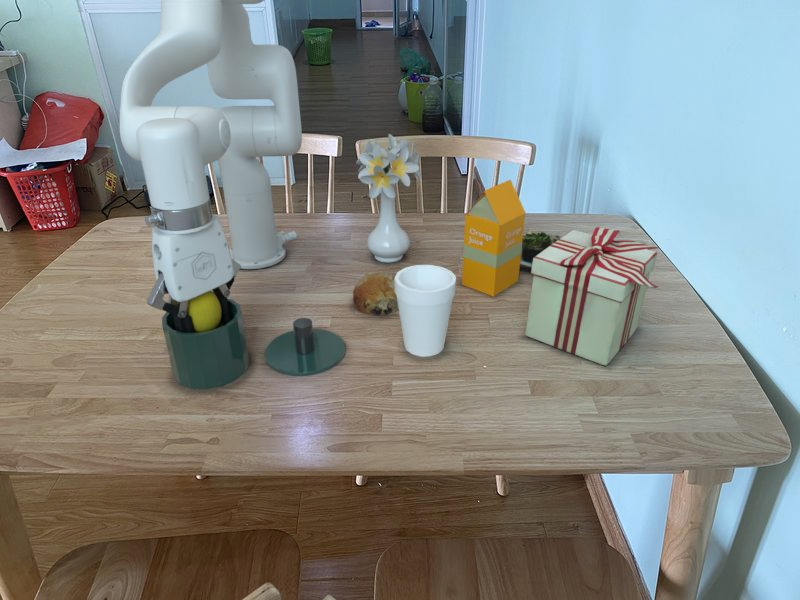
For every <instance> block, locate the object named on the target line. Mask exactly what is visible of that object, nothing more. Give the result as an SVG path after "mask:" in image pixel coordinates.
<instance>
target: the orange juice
mask: <svg viewBox="0 0 800 600" xmlns="http://www.w3.org/2000/svg"><path fill="white" fill-rule="evenodd" d="M464 216H465V217H464V232H463V233H464V235H463V247H462V274H461V276H462V277H461V285H462V286H465V287H467V288H470V289H473V290H475V291H478V292H480V293H483V294H486V295H488V296H490V297H496V296H497V295H499V294H500V293H501V292H504V291H506V289H508V288H510V287H511V286H513V285H514V284H516V283H517V282H519V277H520V258H521V251H522V238H523V236H524V227H525V219H526V218H525V217H526V211H525V209H524V206H523V204H522V201H521V200H520V197H519V195H518V193H517V191H516V189H515V186H514V184H513V182H512V180H511V179H509V180H506V181H504V182H501V183H499V184H496V185H494V186H492V187H489V188H487V189H485V190H483V192H482V194H481V195H480V197H479V198H478V199H477V201H476V202H475V203H474V204H473V205H472V207H471V208H470V209H469V211H468V212H467V213H466V214H465V215H464Z"/></svg>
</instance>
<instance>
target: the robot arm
mask: <svg viewBox="0 0 800 600" xmlns="http://www.w3.org/2000/svg"><path fill="white" fill-rule="evenodd" d="M264 1H265V0H160V16H159V33H158V35H157V36H156V37H155V38H154V39H153V40H151V42H149V44H147V45H146V47H144V48H143V50H142V51H140V53H139V54H138V55H137V57H136V58H135V60H134V61H133V62H132V64H131V65H130V66H129V68H128V69H127V71H126V73H125V75H124V78H123V81H122V83H121V84H122V85H121V89H120V90H121V91H120V92H121V93H120V105H119V137H120V141H121V145H122V147H123V149H124V151H125V152H126V154H127V155H128V156H129V157H130V158H131V159H133V160H135V161H137V162H141V165H142V171H143V175H144V180H145V184H146V190H147V194H148V198H149V202H150V213H151V214H149V215H148V216H146V217H145V218H144V222H145V225H146V226H147V227H149V228H151V227H152V228H151V253H152V263H153V270H154V276H155V280H156V281H155V283H154V285H153V287H152V289H151V291H150V293H149V296H148V297H147V299H146V304H147V305H148V306H150V307H152V308H154V309H157V310H160V311H163V312H165V313H166V312H168V313H170V314H173V318H174V322H175V327H176V331H179V332H182V333H194V329H193V324H192V319H191V316H190V315H188V314H187V305H188V300H191V299H193V298H195V297H198V296H200V295H202V294H204V293H206V292H209V291H212V292H213V293H214V294H215V295H216V296H217V298H218V300H219V302H220V305H221V320H222V321H224V322H228V321H230V317H229V306H228V300H227V298H229V297H230V295H231V291H230V290H231V288H232V286H233V284H234V282H235V278H236V276H237V275H238V273H239V272H240V271H241V270H242V269H243V270H258V269H265V268H269V267H272V266H275V265H277V264H279V263H280V262H282V261H283V260H284V259H285V258H286V255H287V251H286V248H285V246H284V245H286V243H288V242H293V241H296V240H297V239H298V236H297V232H296V231H295V230H293V231H289V232H287V233H286V232H285V231H284V230H280V231H278V232H277V228H276V227H277V226H276V219H275V209H274V201H273V192H272V183H271V182H272V181H271V177H270V174H269V172H268V170H267V169H266V167H265V166H264V165H263V164H262V162H261V161H260V160H259V159H258V158H259V157H261V158H263V157H264V158H265V157H291V156H294V155H296V154H297V153H299V151H300V149H301V147H302V140H303V132H302V131H303V130H302V119H301V110H300V109H301V108H300V99H299V88H298V87H299V85H298V77H297V69H296V64H295V61H294V58H293V55H292V53H291V52H290V50H289V49H288V48H287V47H285V46H283V45H280V44H255V43H254V42H253V39H252V32H251V24H250V17H249V14H248V11H247V10H246V8H245V6H244V5H257V4H260V3H262V2H264ZM205 65H206V67H207V72H208V73H207V74H208V78H209V82H210V87H211V89H212V91H213V93H214V94H215V95H216V96H217V97H219V98H222V99H225V100H269V101H271V102H272V103H273V104H274V105H230V106H224V107H220V108H218V109H217V108H215V107H211V106H206V105H205V106H204V105H188V106H187V105H185V106H183V105H154V106H153V105H152V104H153V102H154V99H155V97H156V95H157V94H158V93H159V92H160V91H161V90H162V89H163V88H164V87H165V86H166V85H168V84H169V83H170V82H172V81H174V80H176V79H179V78H180V77H182V76H185V75H187V74H188V73H191V72H193V71H195V70H196V69H199V68H200V67H203V66H205ZM214 162H217V163H218V168H219V173H220V179H221V185H222V191H223V197H224V204H225V210H226V218H227V224H228V230H229V236H230V244H231V248H230V246H229V242H228V239H227V237H226V234H225V230H224V228H223V226H222V223H221V221H220V219H219V216H218V215H216V214H213V210H212V205H211V204H212V203H211V197H210V192H209V186H208V181H207V175H206V168H205V166H207V165H209V164H212V163H214ZM168 294H169V295H168ZM165 295H168V301H166V300H164V297H165Z"/></svg>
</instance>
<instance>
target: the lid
mask: <svg viewBox="0 0 800 600" xmlns="http://www.w3.org/2000/svg"><path fill="white" fill-rule="evenodd" d="M313 326H314V325H313V321H312V319H310V318H307V317H301V318H297V319H295V320H294V321H293V322H292V328H293V329H292V330H290V331H286V332H284V333H282V334H280V335H278V336H277V337H275V338H274V339H272V340H271V341H270V342H268V344H267V345H266V347H265V350H264V360H265V362H266V364H267V366H268V367H269V368H270V369H272V370H273V371H275V372H277V373H279V374H283V375H287V376H293V377H304V376H312V375H313V376H314V375H317V374H321V373H324V372H327V371H328V370H331V369H333V368H334V367H335V366H338V364H339V363H340V362H342V360H343V358H344V357H345V354H346V344H345V341H344V340H343V339H342V338H341V336H339V335H337V334H336V333H334V332H332V331H329V330H326V329H322V328H314V327H313Z"/></svg>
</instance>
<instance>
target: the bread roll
mask: <svg viewBox="0 0 800 600" xmlns="http://www.w3.org/2000/svg"><path fill="white" fill-rule="evenodd" d="M395 276H396V275H393V273H392V274H391V273H389V272H386V271H369V272H368V273H366V274H365V275H364V276H363V277H362V278H361V279H360V280H359V281H357V282H356V283H355V285H354V288H353V292H352V299H353V305H354V308H355V309H356V310H357V311H358V312H360V313H362V314H365V315H370V316H381V315H389V314H391V313H396V312H397V311H398V312H399V308H398V302H397V296H396V294H395V279H394V278H395Z"/></svg>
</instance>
